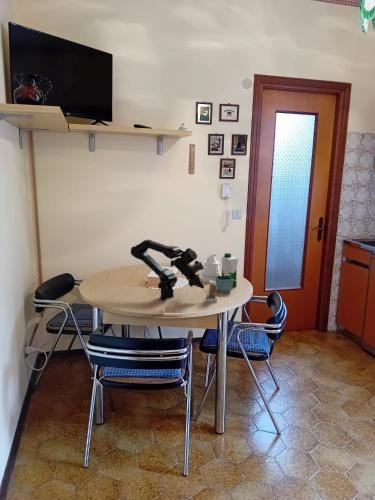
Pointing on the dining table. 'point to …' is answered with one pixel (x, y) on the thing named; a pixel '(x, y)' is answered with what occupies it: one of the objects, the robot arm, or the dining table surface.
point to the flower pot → (224, 283)
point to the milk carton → (230, 267)
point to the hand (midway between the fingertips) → (203, 287)
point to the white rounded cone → (210, 269)
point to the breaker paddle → (212, 289)
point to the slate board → (211, 299)
